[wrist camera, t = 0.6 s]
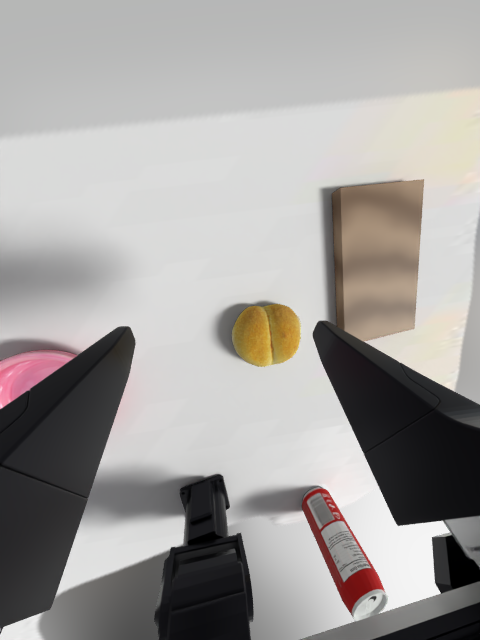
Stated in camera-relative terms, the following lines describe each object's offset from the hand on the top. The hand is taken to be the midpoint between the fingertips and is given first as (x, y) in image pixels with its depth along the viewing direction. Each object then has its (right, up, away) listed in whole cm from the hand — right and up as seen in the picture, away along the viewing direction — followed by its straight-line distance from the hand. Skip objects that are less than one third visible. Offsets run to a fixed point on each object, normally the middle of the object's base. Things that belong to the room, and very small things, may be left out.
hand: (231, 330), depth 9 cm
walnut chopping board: (+19, +8, +17) cm, 27 cm away
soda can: (+14, -32, +25) cm, 43 cm away
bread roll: (+4, -1, +16) cm, 17 cm away
